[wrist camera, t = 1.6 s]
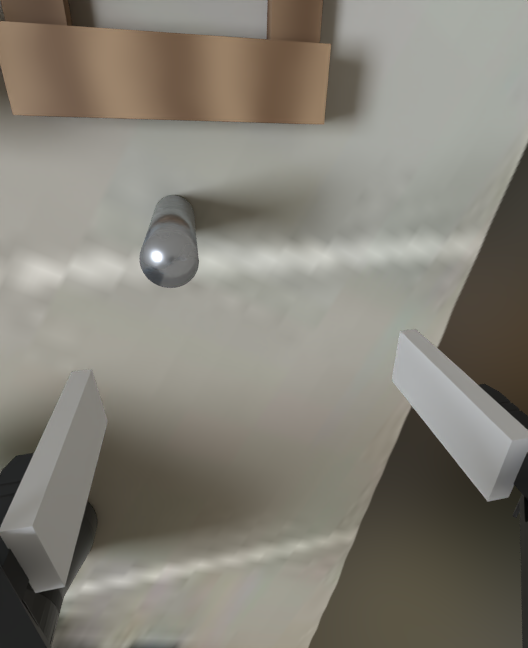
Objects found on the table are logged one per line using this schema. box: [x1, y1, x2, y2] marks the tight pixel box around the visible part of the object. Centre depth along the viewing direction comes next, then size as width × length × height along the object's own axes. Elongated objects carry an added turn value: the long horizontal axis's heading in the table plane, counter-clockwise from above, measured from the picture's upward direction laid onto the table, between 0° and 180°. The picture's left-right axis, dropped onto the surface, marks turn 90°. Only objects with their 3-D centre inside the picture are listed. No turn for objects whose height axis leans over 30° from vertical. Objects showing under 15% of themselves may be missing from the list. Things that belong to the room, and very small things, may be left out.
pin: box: [140, 195, 199, 288], centre depth 26 cm, size 3×3×12 cm
